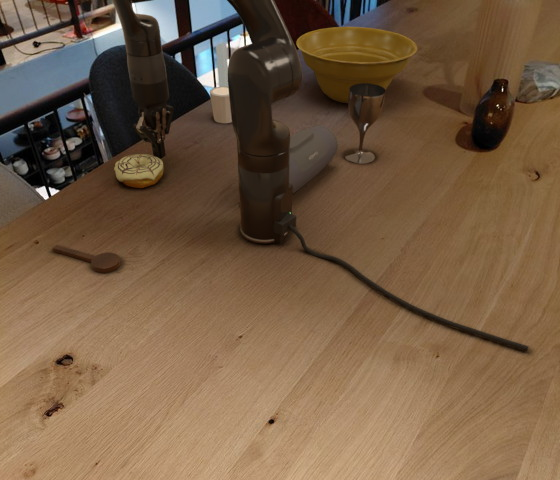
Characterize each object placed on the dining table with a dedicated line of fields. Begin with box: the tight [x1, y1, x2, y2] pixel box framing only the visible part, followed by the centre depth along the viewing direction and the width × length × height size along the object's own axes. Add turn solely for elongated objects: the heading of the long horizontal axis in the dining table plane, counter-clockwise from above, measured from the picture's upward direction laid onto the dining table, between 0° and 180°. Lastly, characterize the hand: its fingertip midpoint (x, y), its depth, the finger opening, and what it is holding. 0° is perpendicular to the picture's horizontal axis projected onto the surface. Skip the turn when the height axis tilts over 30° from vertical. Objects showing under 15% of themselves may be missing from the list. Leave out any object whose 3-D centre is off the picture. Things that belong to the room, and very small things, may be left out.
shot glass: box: [209, 86, 232, 124], centre depth 146 cm, size 7×7×7 cm
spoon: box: [52, 244, 121, 274], centre depth 104 cm, size 14×5×1 cm, turn 67°
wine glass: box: [344, 83, 387, 164], centre depth 129 cm, size 8×8×15 cm
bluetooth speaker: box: [289, 124, 339, 194], centre depth 122 cm, size 23×9×10 cm, turn 149°
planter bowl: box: [295, 26, 418, 104], centre depth 157 cm, size 32×32×13 cm
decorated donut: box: [113, 153, 165, 189], centre depth 125 cm, size 10×11×4 cm
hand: (159, 157), depth 129 cm, fingers closed
